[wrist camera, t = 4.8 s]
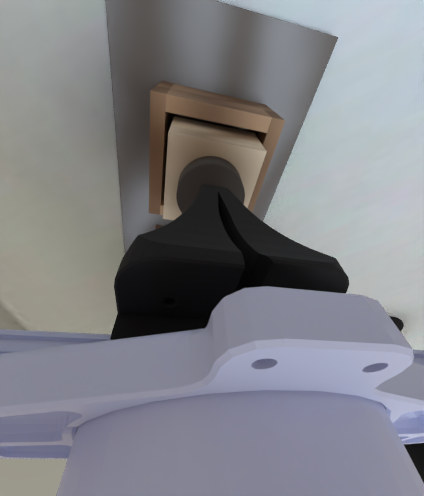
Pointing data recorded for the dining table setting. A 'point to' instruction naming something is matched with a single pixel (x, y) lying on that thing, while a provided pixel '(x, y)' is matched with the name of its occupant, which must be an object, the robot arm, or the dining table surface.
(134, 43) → the stand
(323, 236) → the dining table surface
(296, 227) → the dining table surface
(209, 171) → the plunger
